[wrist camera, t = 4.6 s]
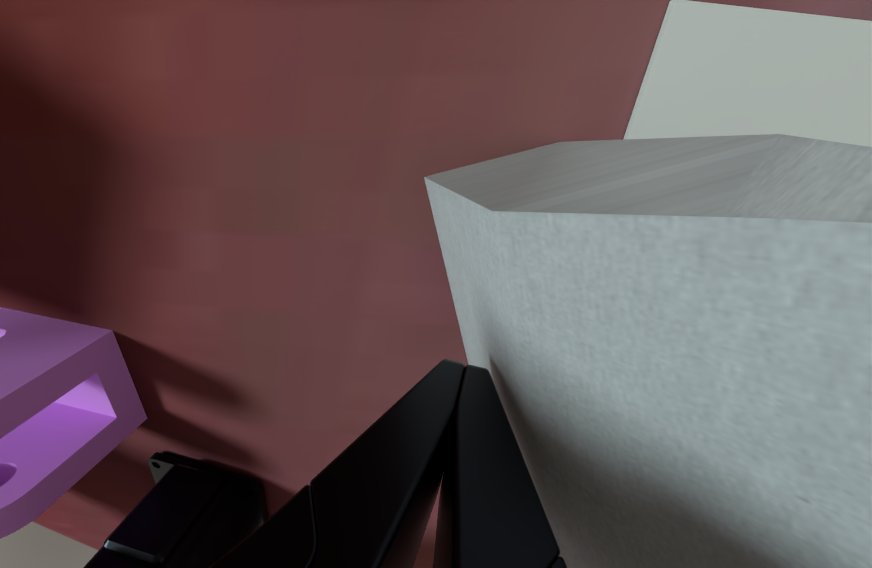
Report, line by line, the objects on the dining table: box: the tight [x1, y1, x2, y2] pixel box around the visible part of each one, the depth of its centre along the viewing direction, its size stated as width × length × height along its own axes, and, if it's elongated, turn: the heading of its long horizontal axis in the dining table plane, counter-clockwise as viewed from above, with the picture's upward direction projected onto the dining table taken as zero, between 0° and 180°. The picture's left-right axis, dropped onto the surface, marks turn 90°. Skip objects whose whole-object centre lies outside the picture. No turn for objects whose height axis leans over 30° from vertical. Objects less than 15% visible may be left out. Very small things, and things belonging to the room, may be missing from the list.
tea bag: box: [424, 134, 872, 568], centre depth 7 cm, size 4×7×10 cm, turn 13°
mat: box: [623, 0, 872, 147], centre depth 11 cm, size 14×12×1 cm
